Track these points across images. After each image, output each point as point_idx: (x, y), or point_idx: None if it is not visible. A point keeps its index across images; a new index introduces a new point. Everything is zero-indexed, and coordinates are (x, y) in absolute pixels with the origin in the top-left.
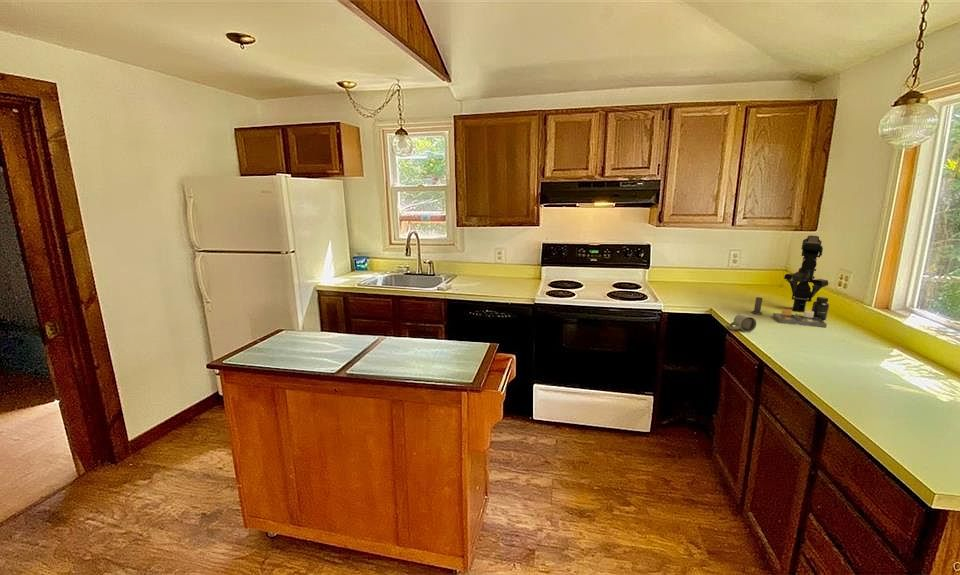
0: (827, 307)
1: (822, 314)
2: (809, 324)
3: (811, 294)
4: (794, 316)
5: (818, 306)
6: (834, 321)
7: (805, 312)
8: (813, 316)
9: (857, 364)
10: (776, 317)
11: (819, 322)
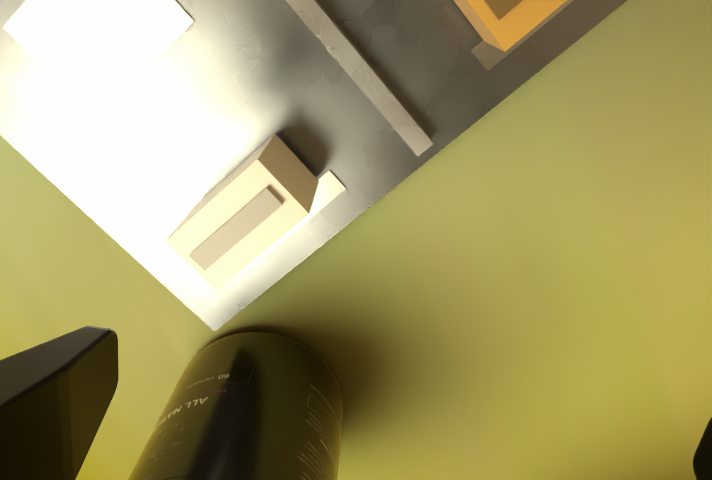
0: None
1: (170, 401)
2: None
3: (33, 375)
4: (396, 41)
5: (196, 465)
6: (126, 450)
7: (271, 162)
8: (275, 351)
9: None
10: None
11: (5, 27)
